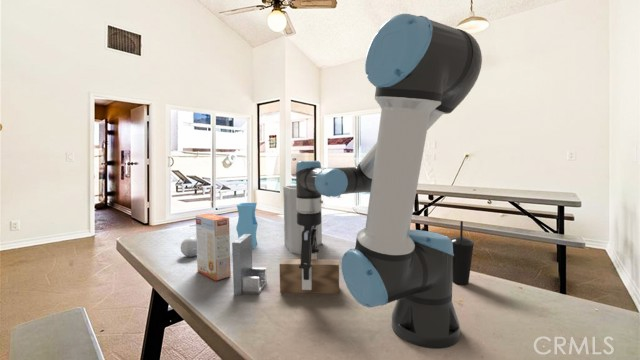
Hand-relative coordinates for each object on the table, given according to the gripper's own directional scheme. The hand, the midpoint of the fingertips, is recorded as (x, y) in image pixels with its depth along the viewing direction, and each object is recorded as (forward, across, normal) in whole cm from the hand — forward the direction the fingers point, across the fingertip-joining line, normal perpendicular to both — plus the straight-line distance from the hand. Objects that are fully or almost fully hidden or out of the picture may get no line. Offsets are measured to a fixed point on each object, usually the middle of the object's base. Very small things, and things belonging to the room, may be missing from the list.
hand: (309, 280), depth 90 cm
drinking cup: (+3, +10, -48) cm, 49 cm away
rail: (+3, 0, 0) cm, 3 cm away
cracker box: (+3, +10, +36) cm, 37 cm away
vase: (+3, +44, +36) cm, 57 cm away
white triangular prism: (+3, +46, +12) cm, 47 cm away
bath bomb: (+3, +28, +55) cm, 62 cm away
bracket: (+3, 0, +19) cm, 19 cm away
